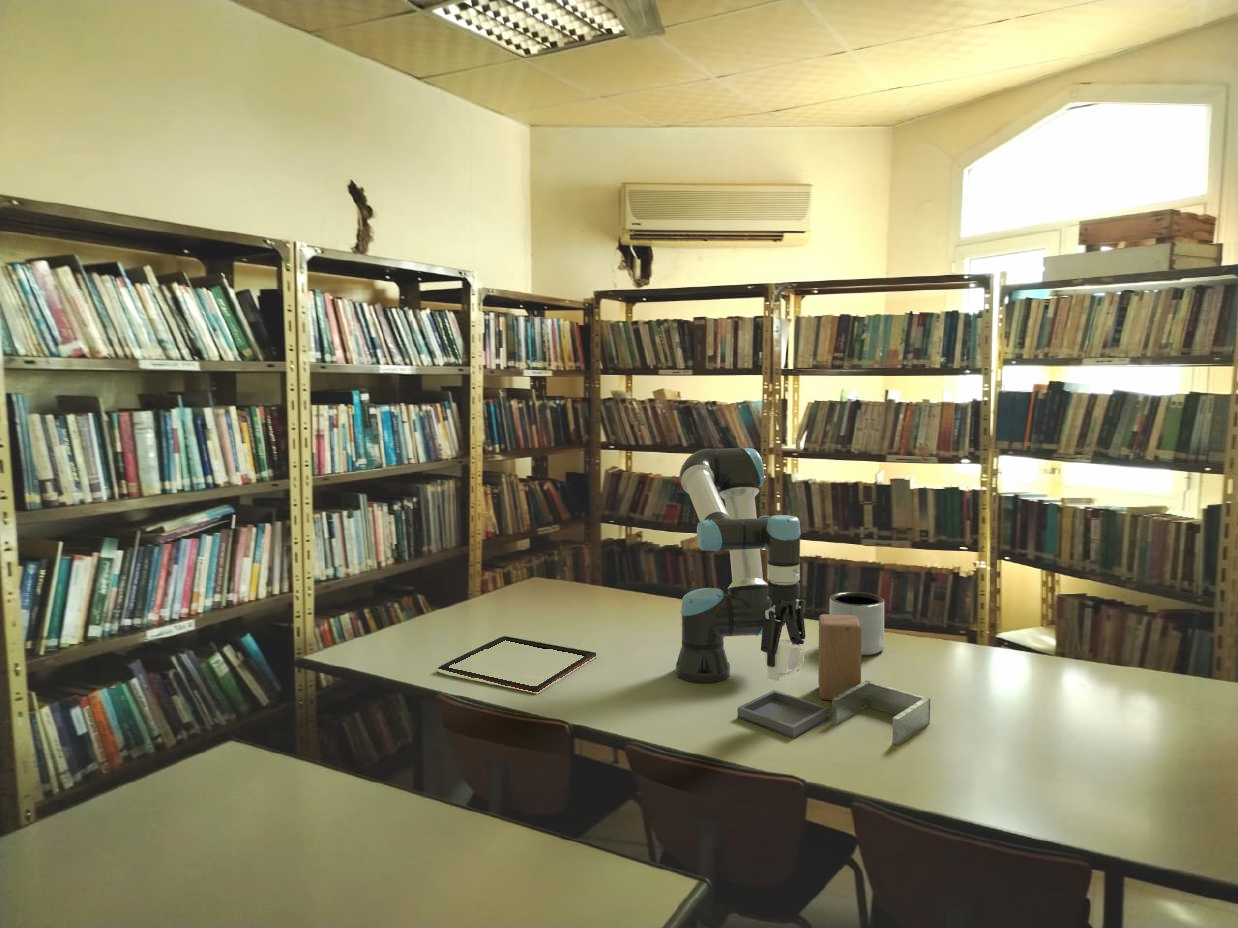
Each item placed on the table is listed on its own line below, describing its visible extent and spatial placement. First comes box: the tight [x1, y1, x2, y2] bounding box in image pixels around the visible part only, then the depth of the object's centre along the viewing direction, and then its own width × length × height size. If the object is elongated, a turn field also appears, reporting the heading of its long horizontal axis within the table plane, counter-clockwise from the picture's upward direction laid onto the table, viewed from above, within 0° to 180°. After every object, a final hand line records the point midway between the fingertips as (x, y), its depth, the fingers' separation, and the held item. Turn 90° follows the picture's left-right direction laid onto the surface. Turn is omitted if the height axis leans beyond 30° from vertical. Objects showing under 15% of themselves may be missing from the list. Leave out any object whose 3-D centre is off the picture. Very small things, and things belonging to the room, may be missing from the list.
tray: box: [737, 689, 830, 739], centre depth 187 cm, size 16×15×3 cm
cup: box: [763, 637, 805, 678], centre depth 186 cm, size 7×10×8 cm
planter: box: [829, 591, 885, 657], centre depth 235 cm, size 16×16×16 cm
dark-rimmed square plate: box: [437, 635, 597, 692], centre depth 226 cm, size 38×35×3 cm
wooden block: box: [817, 613, 862, 701], centre depth 200 cm, size 10×10×20 cm
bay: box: [831, 679, 931, 746], centre depth 183 cm, size 16×16×6 cm
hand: (783, 674), depth 186 cm, fingers closed on cup, 8 cm apart
